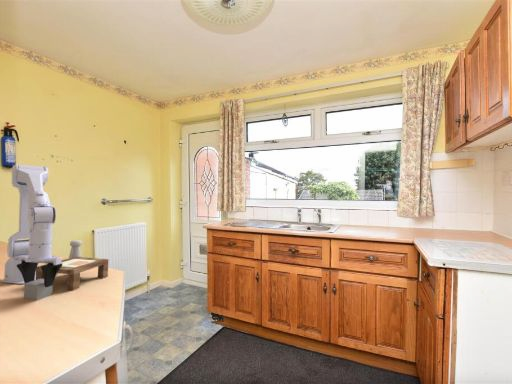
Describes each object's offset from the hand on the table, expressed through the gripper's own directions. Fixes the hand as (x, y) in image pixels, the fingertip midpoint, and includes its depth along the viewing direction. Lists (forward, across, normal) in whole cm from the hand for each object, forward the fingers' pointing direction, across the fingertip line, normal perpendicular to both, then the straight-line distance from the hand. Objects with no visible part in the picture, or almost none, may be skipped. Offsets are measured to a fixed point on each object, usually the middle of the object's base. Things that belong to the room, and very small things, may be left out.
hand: (39, 285), depth 82 cm
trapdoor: (-2, -2, +15) cm, 15 cm away
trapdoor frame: (+4, -2, +15) cm, 16 cm away
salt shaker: (+4, -14, +27) cm, 31 cm away
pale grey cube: (+4, 0, 0) cm, 4 cm away
